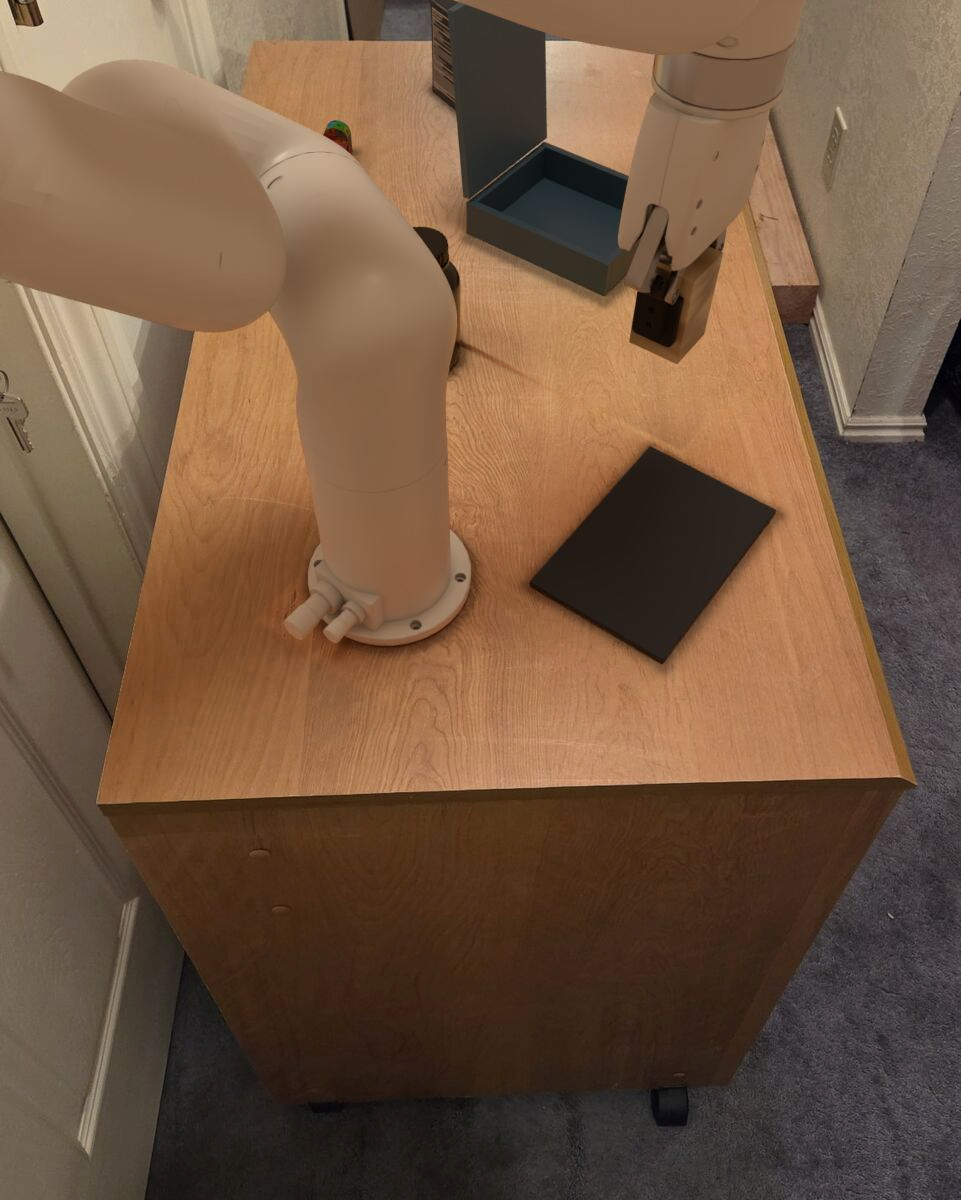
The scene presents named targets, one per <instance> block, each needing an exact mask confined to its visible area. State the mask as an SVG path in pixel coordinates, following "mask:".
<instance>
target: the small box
mask: <svg viewBox="0 0 961 1200" xmlns="http://www.w3.org/2000/svg"><path fill="white" fill-rule="evenodd" d="M457 3H459V2H457V1H454V0H429V8H430V18H431V19H430V23H431V25H430V27H431V68H432V69H431V70H432V71H431V75H432V77H431V84H432V85H431V87H432V88H431V90H432V92H434V93H435V94H436V95H438V97H440V98H441V99H442V100H443V101H445V102H446V103H447V104H448V105H449V106H451V107H452V108H453V109H455V110H456V106H455V94H454V82H453V70H452V59H451V47H450V35H449V23H448V11H447V10H448V9H450V8H451V7H453V6H454V5H456V4H457Z"/></svg>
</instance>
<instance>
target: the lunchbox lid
mask: <svg viewBox="0 0 961 1200" xmlns="http://www.w3.org/2000/svg"><path fill="white" fill-rule="evenodd" d="M447 11H448V23H449V35H450V47H451V59H452V70H453V82H454V94H455V106H456V109H455V115H456V118H455V119H456V127H457V141H458V151H459V152H458V153H459V164H460V175H461V177H460V178H461V186H462V187H461V188H462V197H463V198H465V199H468V200H470V199H472V198H473V197H474V196H476V195H477V194H478V193H479V192H481V191H482V190H483V189H484V188H486V187H487V186H488V185H490V184H491V183H492V182H493V181H495V180H496V179H497V178H498V177H500V176H501V175H502V174H504V173H505V172H506V171H507V170H509V169H510V168H511V167H512V166H514V165H515V164H516V163H517V162H519V161H520V160H521V159H523V158H524V157H525V156H526V155H528V154H529V153H530V152H531V151H533V150H534V149H535V148H537V147H538V146H539V145H540V144H541V143H543V142H545V140H546V139H548V121H547V120H548V111H547V50H546V46H547V45H546V44H547V43H546V42H547V40H546V33H545V32H542V31H539V30H536V29H532V28H529V27H526V26H523V25H521V24H518V23H515V22H512V21H509V20H506V19H504V18H501V17H498V16H496V15H493V14H490V13H488V12H485V11H482V10H480V9H477V8H474V7H471V6H469V5H466V4H463V3H460V2H459V3H457V4H456V5H454V6H453V7H451V8H450V9H448V10H447Z"/></svg>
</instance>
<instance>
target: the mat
mask: <svg viewBox="0 0 961 1200" xmlns="http://www.w3.org/2000/svg"><path fill="white" fill-rule="evenodd" d="M776 512H777V509H776V508H773V507H771V506H770V505H767V504H765V503H764V502H762V501H760V500H758V499H756V498H754V497H752V496H750V495H748V494H746V493H744V492H742V491H740V490H738V489H736V488H734V487H732V486H730V485H729V484H727V483H724V482H722V481H720V480H718V479H716V478H715V477H712V476H710V475H709V474H706V473H705V472H703V471H701V470H698V469H697V468H695V467H693V466H690V465H689V464H686V463H685V462H682V461H681V460H678V459H676V458H675V457H673V456H671V455H669V454H667V453H664V452H663V451H661V450H659V449H658V448H655V447H653V446H651V445H650V446H648V448H646V450H645V451H644V452H643V453H642V454H641V456H639V458H638V459H637V460H636V461H635V462H634V463H633V464H632V465H631V466H630V468H629V469H628V470H627V471H626V472H625V473H624V475H623V476H622V477H621V478H620V479H619V480H618V481H617V482H616V484H615V485H614V486H613V487H612V488H611V489H610V490H609V492H608V493H607V494H605V496H604V497H603V498H602V499H601V500H600V502H599V503H598V504H597V505H596V506H595V507H594V508H593V509H592V511H591V512H590V513H589V514H588V515H587V516H586V517H585V519H583V521H582V522H581V523H580V524H579V525H578V527H577V528H576V529H574V531H573V532H572V533H571V534H570V536H569V537H567V538H566V540H565V541H564V542H563V543H562V544H561V546H560V547H558V549H557V550H556V551H555V552H554V553H553V554H552V555H551V556H550V558H549V559H548V560H547V562H545V563H544V565H543V566H542V567H541V568H540V569H539V571H537V573H536V574H534V576H533V577H532V578H531V579H530V580H529V587H531V588H532V589H534V590H536V591H537V592H539V593H541V594H542V595H544V596H546V597H547V598H549V599H551V600H552V601H554V602H556V603H557V604H559V605H561V606H562V607H564V608H566V609H568V610H570V611H572V612H573V613H575V614H577V615H578V616H580V617H582V618H583V619H585V620H586V621H588V622H590V623H593V625H596V626H597V627H599V628H600V629H602V630H604V631H605V632H607V633H609V634H610V635H613V636H614V637H616V638H618V639H619V640H621V641H622V642H624V643H626V644H628V645H629V646H631V647H632V648H634V649H636V650H637V651H640V652H641V653H642V654H645V655H646V656H648V657H649V658H651V659H653V660H655V661H656V662H658V663H660V664H664V663H665V661H666V660H667V659H668V657H669V656H670V654H671V653H672V652H673V651H674V649H675V648H676V646H677V645H678V644H679V643H680V642H681V640H682V639H683V637H684V636H685V635H686V633H687V632H688V631H689V629H690V628H691V627H692V626H693V624H694V623H695V621H696V620H697V619H698V617H699V616H700V615H701V613H702V612H703V611H704V609H705V608H706V607H707V606H708V604H709V603H710V601H711V600H712V598H714V596H715V595H716V593H717V592H718V590H719V589H720V588H721V587H722V585H723V584H724V583H725V581H726V580H727V579H728V577H729V576H730V575H731V574H732V572H733V571H734V569H735V568H736V567H737V565H738V564H739V563H740V561H741V560H742V559H743V558H744V556H745V554H746V553H748V551H749V550H750V548H751V547H752V545H753V544H754V543H755V541H756V540H757V539H758V538H759V536H760V535H761V534H762V532H764V529H765V528H766V527H767V526H768V525H769V523H770V521H771V520H772V519H773V518H774V516H775V515H776Z"/></svg>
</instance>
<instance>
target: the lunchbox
mask: <svg viewBox="0 0 961 1200" xmlns="http://www.w3.org/2000/svg"><path fill="white" fill-rule="evenodd" d="M628 178H629V174H628V175H627V174H625V173H622V172H620V171H618V170H616V169H613V168H611V167H609V166H605V165H604V164H600V163H598V162H595V161H593V160H591V159H588V158H586V157H584V156H581V155H579V154H576V153H573V152H571V151H569V150H566V149H564V148H561V147H559V146H556V145H554V144H551V143H549V142H546V141H542V142H541V143H540V144H539V145H537V146H536V147H535V148H534V149H532V150H531V151H530V152H528V153H527V154H526V155H525V156H523V157H522V158H521V159H520V160H518V161H517V162H516V163H515V164H513V165H512V166H511V167H509V168H508V169H507V170H506V171H504V172H503V173H502V174H501V175H499V176H498V177H497V178H495V179H494V180H493V181H492V182H490V183H489V184H488V185H487V186H485V187H484V188H483V189H481V190H480V191H479V192H478V193H476V194H475V195H474V196H473V197H471V198H470V199H468V201H466V209H465V210H466V234H467V235H469V236H471V237H473V238H476V239H477V240H480V241H482V242H484V243H486V244H489V245H491V246H493V247H495V248H498V249H500V250H502V251H503V252H506V253H508V254H510V255H513V256H515V257H517V258H519V259H521V260H524V261H526V262H528V263H531V264H532V265H535V266H537V267H539V268H541V269H544V270H545V271H548V272H550V273H552V274H554V275H556V276H559V277H561V278H562V279H565V280H568V281H570V282H572V283H574V284H576V285H579V286H581V287H583V288H584V289H587V290H589V291H591V292H594V293H596V294H598V295H600V296H603V297H605V296H607V295H608V293H610V292H611V291H612V289H614V288H615V287H616V286H617V285H618V284H619V283H620V282H621V281H622V280H623V279H625V277H626V275H627V272H628V270H629V267H630V265H631V262H632V260H633V257H634V255H635V252H636V250H637V247H638V245H639V243H637V244H636V245H635V246H634V247H633V248H632V249H631V250H630V251H627V250H623V249H621V248H620V247H619V244H618V233H619V226H620V220H621V214H622V209H623V203H624V198H625V193H626V188H627V183H628Z"/></svg>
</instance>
